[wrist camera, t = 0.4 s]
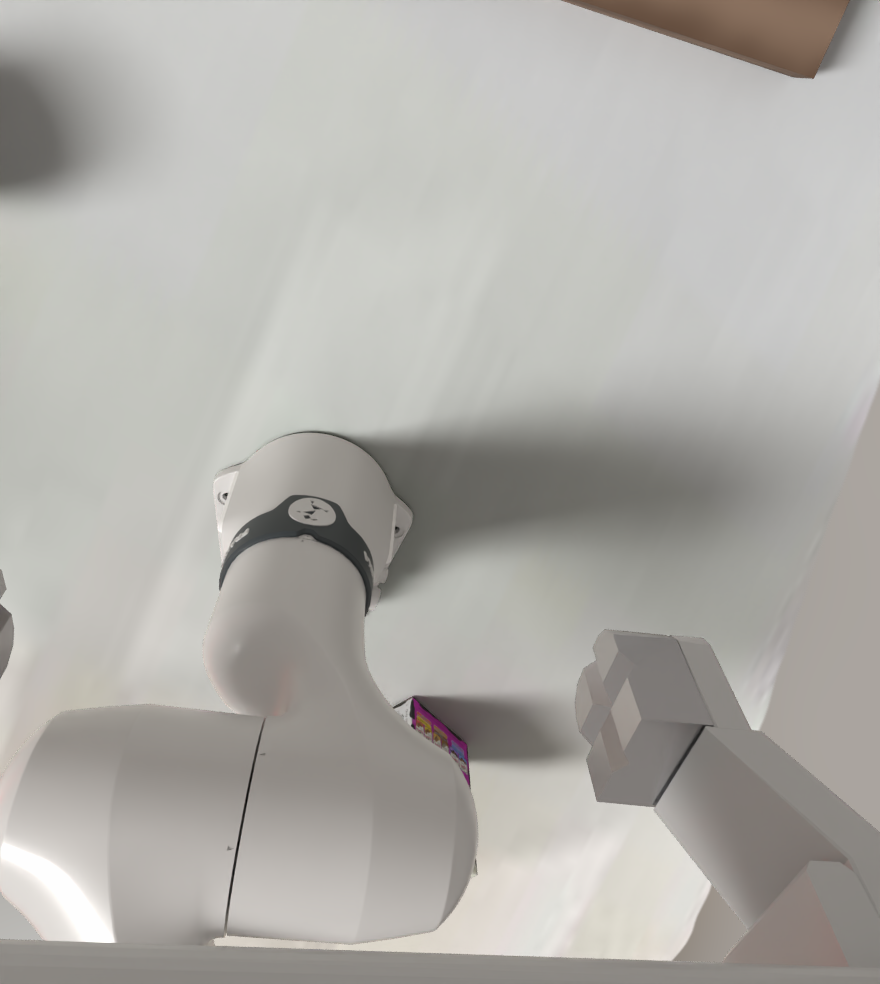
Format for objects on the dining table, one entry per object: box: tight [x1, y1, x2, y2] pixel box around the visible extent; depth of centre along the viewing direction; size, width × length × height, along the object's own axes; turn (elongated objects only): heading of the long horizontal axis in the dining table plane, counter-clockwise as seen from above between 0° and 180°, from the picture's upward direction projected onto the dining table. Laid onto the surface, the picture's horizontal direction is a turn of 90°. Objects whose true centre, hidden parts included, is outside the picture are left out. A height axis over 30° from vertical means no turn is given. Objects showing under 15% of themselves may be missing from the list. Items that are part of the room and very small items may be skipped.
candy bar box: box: [393, 697, 477, 878], centre depth 79 cm, size 11×5×16 cm, turn 37°
